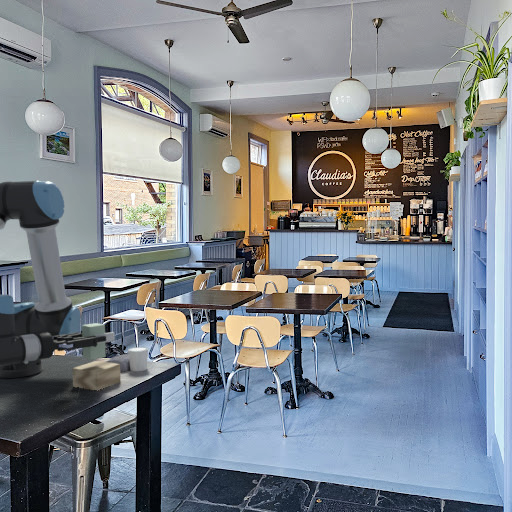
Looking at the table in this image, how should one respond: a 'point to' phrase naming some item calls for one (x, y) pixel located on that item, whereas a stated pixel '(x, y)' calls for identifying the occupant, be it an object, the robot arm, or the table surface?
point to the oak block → (96, 375)
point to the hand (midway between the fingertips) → (109, 335)
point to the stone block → (121, 361)
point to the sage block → (100, 348)
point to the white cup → (138, 358)
